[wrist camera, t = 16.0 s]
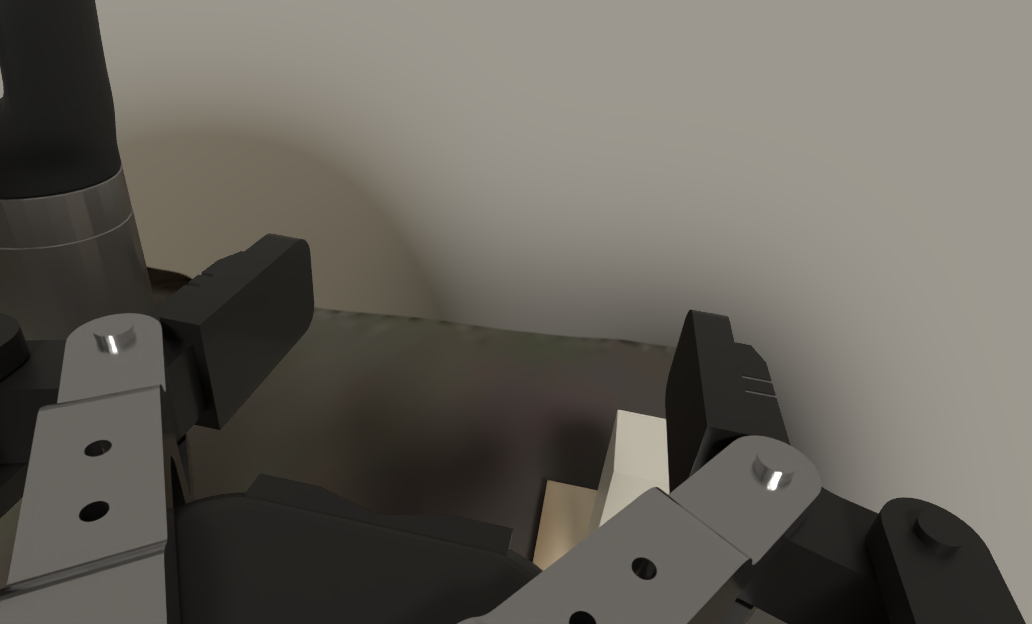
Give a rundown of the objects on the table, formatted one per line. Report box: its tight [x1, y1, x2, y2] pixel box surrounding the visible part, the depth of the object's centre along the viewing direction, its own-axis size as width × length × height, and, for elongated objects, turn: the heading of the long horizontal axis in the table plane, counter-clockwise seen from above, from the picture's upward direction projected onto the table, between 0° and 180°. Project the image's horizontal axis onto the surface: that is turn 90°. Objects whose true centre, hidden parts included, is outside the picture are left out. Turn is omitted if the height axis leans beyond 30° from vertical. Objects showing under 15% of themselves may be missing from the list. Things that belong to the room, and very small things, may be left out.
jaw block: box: [586, 410, 669, 537], centre depth 33 cm, size 4×4×11 cm
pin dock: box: [533, 480, 597, 571], centre depth 35 cm, size 10×14×4 cm
